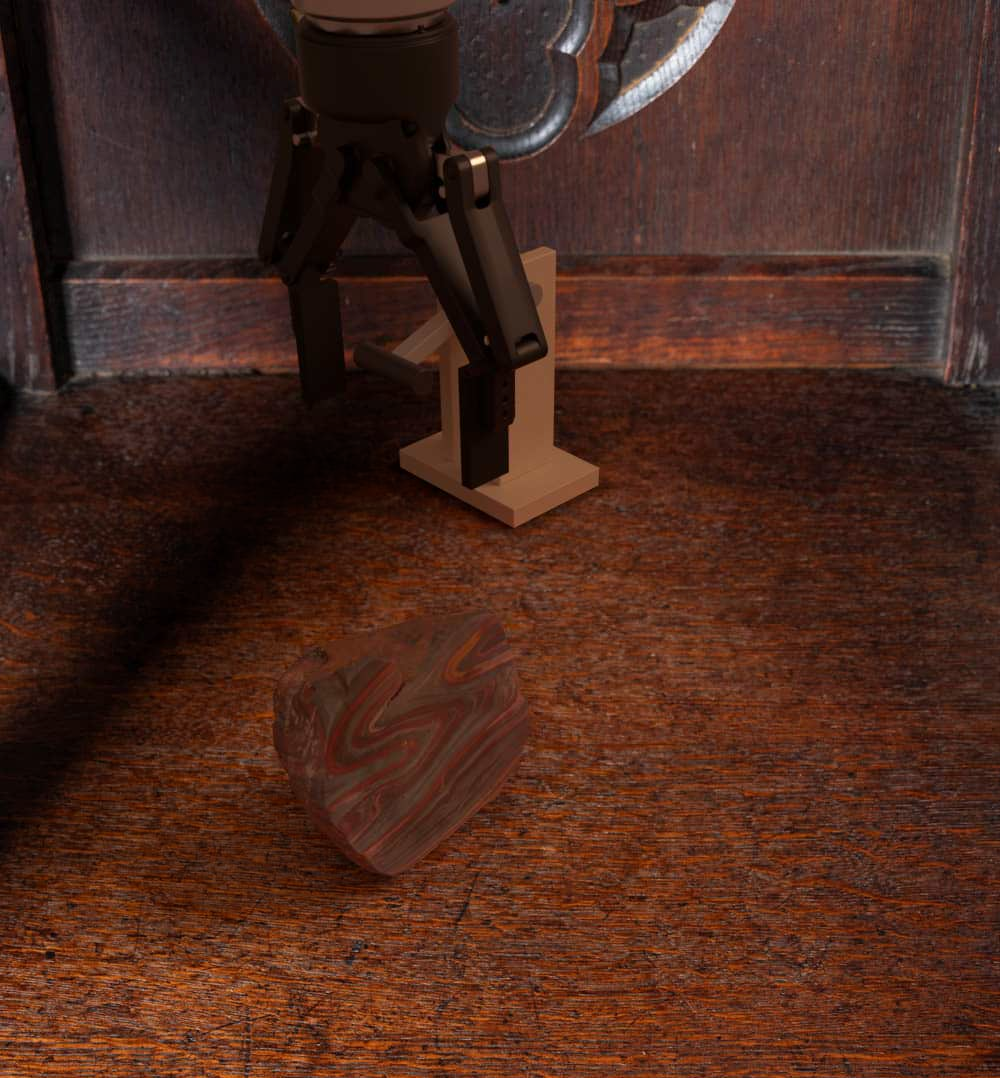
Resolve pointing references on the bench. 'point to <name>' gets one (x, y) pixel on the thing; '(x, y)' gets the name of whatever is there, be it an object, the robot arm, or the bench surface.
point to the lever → (406, 356)
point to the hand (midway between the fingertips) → (401, 436)
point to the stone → (401, 733)
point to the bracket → (533, 460)
